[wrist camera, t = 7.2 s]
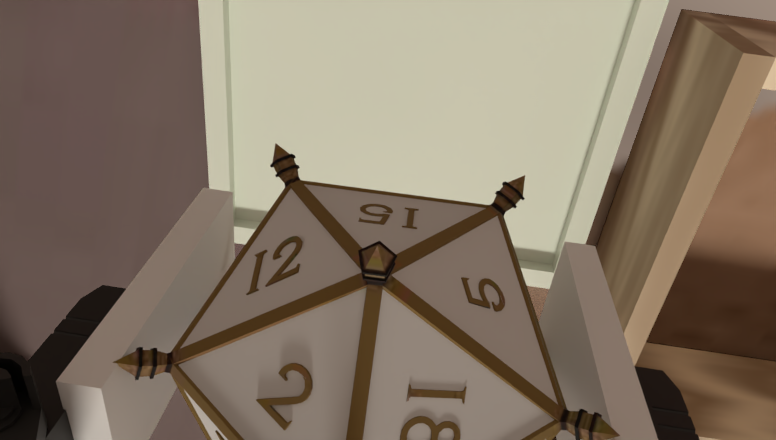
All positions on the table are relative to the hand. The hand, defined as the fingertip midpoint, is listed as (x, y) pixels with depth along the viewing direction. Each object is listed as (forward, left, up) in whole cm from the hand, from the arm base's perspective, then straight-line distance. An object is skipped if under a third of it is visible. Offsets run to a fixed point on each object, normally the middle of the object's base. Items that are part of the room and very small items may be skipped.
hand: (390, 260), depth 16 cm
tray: (0, 0, -13) cm, 13 cm away
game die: (0, 0, -2) cm, 2 cm away
